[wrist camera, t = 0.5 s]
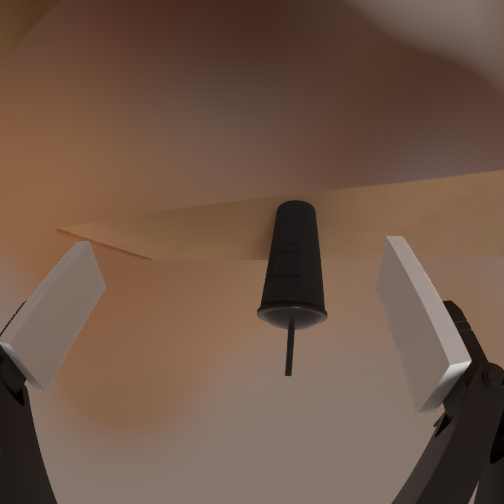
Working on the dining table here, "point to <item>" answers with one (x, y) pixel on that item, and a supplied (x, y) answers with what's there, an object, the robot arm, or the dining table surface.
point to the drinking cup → (294, 274)
